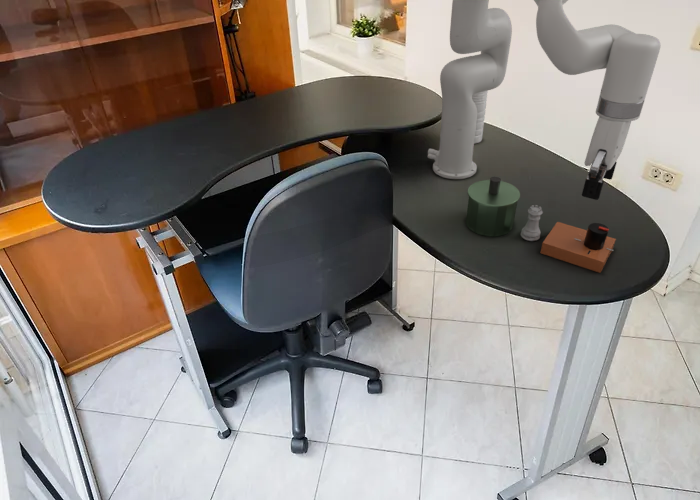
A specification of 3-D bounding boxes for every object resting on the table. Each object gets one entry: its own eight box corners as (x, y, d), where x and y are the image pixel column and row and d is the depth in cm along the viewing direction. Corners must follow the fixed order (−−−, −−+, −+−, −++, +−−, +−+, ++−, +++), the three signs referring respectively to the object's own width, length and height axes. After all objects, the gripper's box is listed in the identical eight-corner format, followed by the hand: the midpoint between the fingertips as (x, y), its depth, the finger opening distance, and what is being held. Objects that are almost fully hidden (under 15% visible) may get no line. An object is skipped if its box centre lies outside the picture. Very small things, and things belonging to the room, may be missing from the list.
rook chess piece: (543, 240, 118) (549, 211, 113) (525, 243, 117) (531, 214, 112) (534, 230, 121) (540, 201, 116) (517, 232, 121) (522, 204, 116)
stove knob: (581, 246, 110) (586, 228, 107) (586, 237, 113) (591, 219, 110) (600, 252, 108) (606, 234, 106) (605, 243, 111) (611, 225, 108)
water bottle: (469, 145, 159) (478, 65, 144) (457, 138, 164) (464, 60, 149) (491, 139, 162) (502, 60, 147) (478, 132, 167) (487, 55, 152)
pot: (458, 227, 124) (461, 197, 118) (477, 207, 131) (481, 178, 125) (501, 242, 118) (506, 211, 113) (519, 219, 125) (525, 190, 120)
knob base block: (540, 253, 114) (542, 242, 112) (554, 231, 120) (557, 220, 118) (603, 274, 107) (607, 262, 105) (615, 250, 114) (619, 239, 112)
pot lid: (458, 200, 119) (460, 183, 116) (480, 179, 126) (482, 162, 124) (507, 215, 113) (510, 197, 110) (527, 192, 120) (530, 174, 118)
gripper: (610, 89, 101) (590, 166, 111) (584, 118, 90) (564, 200, 100) (651, 95, 97) (626, 174, 107) (629, 126, 86) (604, 211, 96)
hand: (597, 187), depth 104 cm, fingers open, 9 cm apart
